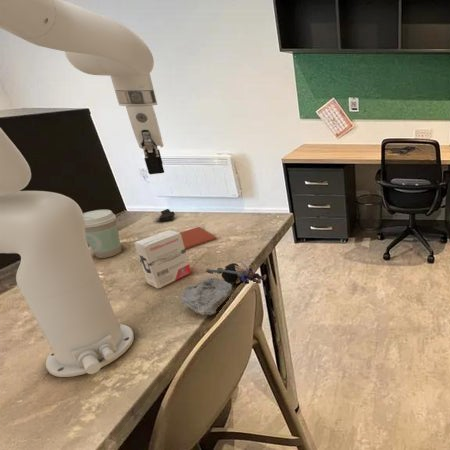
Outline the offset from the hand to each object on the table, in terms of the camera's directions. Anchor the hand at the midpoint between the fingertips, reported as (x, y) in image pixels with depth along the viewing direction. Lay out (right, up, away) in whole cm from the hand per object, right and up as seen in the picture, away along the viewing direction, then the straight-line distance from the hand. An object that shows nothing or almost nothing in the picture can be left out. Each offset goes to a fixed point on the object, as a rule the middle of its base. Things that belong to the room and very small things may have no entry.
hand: (156, 169), depth 88 cm
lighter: (-17, -10, +34) cm, 39 cm away
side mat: (-3, -19, +19) cm, 27 cm away
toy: (+29, -27, -4) cm, 40 cm away
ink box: (+4, -28, -1) cm, 29 cm away
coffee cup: (-21, -23, +10) cm, 32 cm away
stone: (+18, -28, -8) cm, 34 cm away
